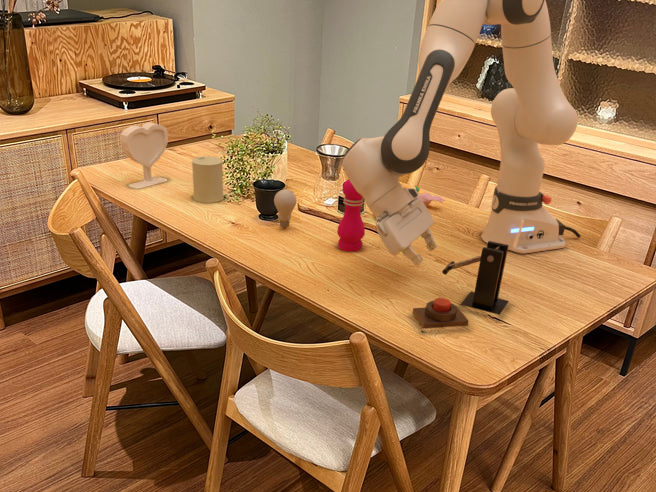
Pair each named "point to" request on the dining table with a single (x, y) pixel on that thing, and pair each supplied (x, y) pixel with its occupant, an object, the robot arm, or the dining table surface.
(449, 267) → the switch lever
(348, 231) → the pepper mill
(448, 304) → the button
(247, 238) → the dining table surface
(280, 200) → the lightbulb
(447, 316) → the button box
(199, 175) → the can
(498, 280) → the switch bracket
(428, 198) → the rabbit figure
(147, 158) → the heart sculpture
